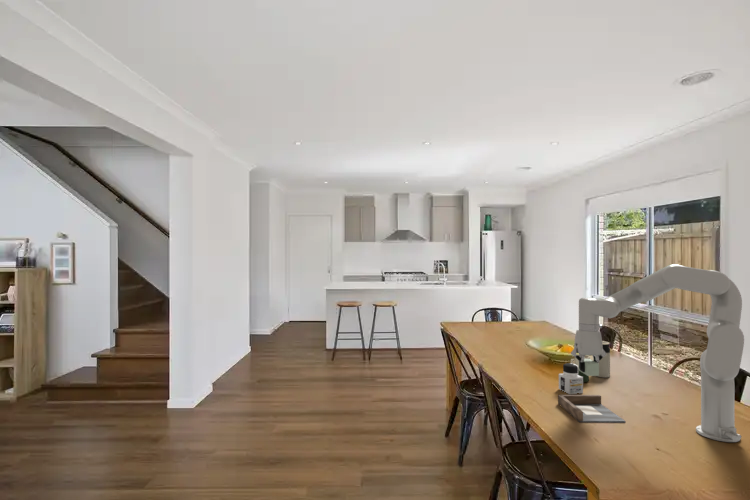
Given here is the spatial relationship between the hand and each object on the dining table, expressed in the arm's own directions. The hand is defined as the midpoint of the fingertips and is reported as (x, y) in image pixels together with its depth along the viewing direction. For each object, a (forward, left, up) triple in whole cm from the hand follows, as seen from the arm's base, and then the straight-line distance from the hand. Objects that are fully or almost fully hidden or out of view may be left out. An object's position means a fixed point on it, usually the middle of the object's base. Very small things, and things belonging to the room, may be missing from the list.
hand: (588, 370), depth 178 cm
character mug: (+42, -17, -17) cm, 49 cm away
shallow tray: (-1, 0, -17) cm, 17 cm away
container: (+26, -4, -17) cm, 32 cm away
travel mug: (+52, -32, -17) cm, 63 cm away
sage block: (0, 0, -1) cm, 1 cm away
